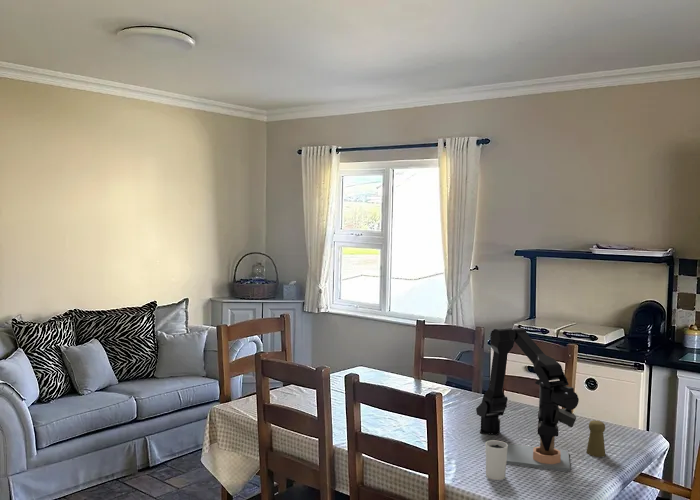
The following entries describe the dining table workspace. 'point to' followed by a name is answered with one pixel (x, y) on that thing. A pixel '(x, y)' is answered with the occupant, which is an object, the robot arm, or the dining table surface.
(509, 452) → the slate board
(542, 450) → the walnut cylinder
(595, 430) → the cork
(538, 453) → the terracotta ring
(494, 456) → the white cup
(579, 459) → the dining table surface
